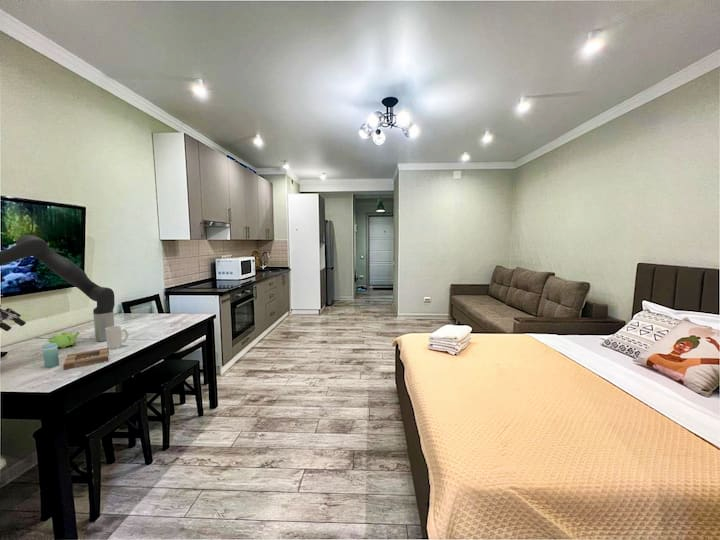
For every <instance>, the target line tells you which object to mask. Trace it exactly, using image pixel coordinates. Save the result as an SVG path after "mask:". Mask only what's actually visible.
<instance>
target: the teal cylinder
mask: <svg viewBox="0 0 720 540" xmlns="http://www.w3.org/2000/svg"><path fill="white" fill-rule="evenodd" d="M42 351H43V352H42V353H43V361H44V363H43V364H44V368H45V369H50V368H56V367H57V366H60V359H59V348H58V346H57V343H50V342H49V343H46V344H45V343H44V344H42Z"/></svg>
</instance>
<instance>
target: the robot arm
mask: <svg viewBox="0 0 720 540" xmlns="http://www.w3.org/2000/svg"><path fill="white" fill-rule="evenodd" d="M47 243H48V242H46V241H45V240H44V239H43V238H40V237H39V236H36V235H33V234H25V235H24V234H23V235H21V236H19V237H18V238H17V239H16V245H14V246H12V247H9V248H6V249H3V250H1V251H0V267H2V266H3V265H4V266H5V265H7V264H9V263H13V262H16V261H18V260H23V259H26V258H29V257H33V258H35V259H37V260H38V261H40V262H41V263H42V264H44V265H45V266H46V267H47V268H48V269H49V270H50V271H52V273H54V274H56V275H57V276H58V277H59V278H61V279H63V280H64V281H65V282H67V283H69V284H70V285H72V286H73V287H75V288H77V289H79V290H80V291H81V292H82V293H83V294H85V296H87V297H88V298H89V299H90V300H92V301H93V302H96V307H94V308H93V310H92V311H93V312H92V313H93V324H94V337H95V338H94V339H95V340H94V341H95V342H105V341H106V342H107V339H106V328H108V327H112V326H115V317H114V309H115V305H116V304H115V301H116V300H115V292H114V290H113V289H112V288H110V287H105V286H100V285H98V284H96V283H95V282H93V281H92V280H91V279H90V278H89V277H88V275H87V274H86V272H85V271H84V270H83V269H82V268H80V267H79V266H78V265H77V264H76V263H74V262H72V261H71V260H70V259H68V258H66V257H64V256H62V255H61V254H59V253H57V252H56V251H54V250H53V249H52V248H50V247H49V246H48V244H47ZM1 307H2V305H1V304H0V329H2V330H3V331H5V332H9V331H10V330H11V329H12V328H13V327H12V326H11V325H8V324H7V323H6V322H3V321H12V322H14V323H15V324H17V325H18V326H20V327H23V326H25V325H26V324H27V322H26V321H24V320H23V319H21V318H20V317H21V316H22V315H21V314H20V313H18V312H16V311H15V310H13V309H12V308H9V307H8V308H6V309H2V308H1Z"/></svg>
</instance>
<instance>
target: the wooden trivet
mask: <svg viewBox="0 0 720 540" xmlns="http://www.w3.org/2000/svg"><path fill="white" fill-rule="evenodd" d="M109 354H110V349H109V348H107V347H105V348H104V347H103V348H97V349H94V350H87V351H86V350H85V351H81V352H76V353H75V352H74V353H70V354H67V355H66V358H65V359H64V362H63V367H62V368H63V371H65V370H70V368H71V369H76V368H81V367H85V365H86V366H90V365H89V364H92V365H95V364H94V363H97V364H100V363H99V362H102V363H105V362H104V361H107V362H109V358H108V356H109V357H110V355H109ZM97 355H99V356H97ZM91 356H94V357H91ZM87 357H89V358H87ZM81 358H83V359H81ZM77 359H78V360H77ZM80 366H81V367H80ZM75 367H76V368H75Z"/></svg>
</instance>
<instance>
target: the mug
mask: <svg viewBox="0 0 720 540" xmlns="http://www.w3.org/2000/svg"><path fill="white" fill-rule="evenodd" d="M122 332H124V333H125V337H124V339H122ZM128 338H129V331H128V330H127V329H126V328H122V326H121V325H114V326H112V327H108V328H106V339H107V341H106V348H109V350H115V349H114V348H117V349H119V348H118V347H120V348H121V347H122V346H123V345H122V343H125V342H127V340H128Z"/></svg>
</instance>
